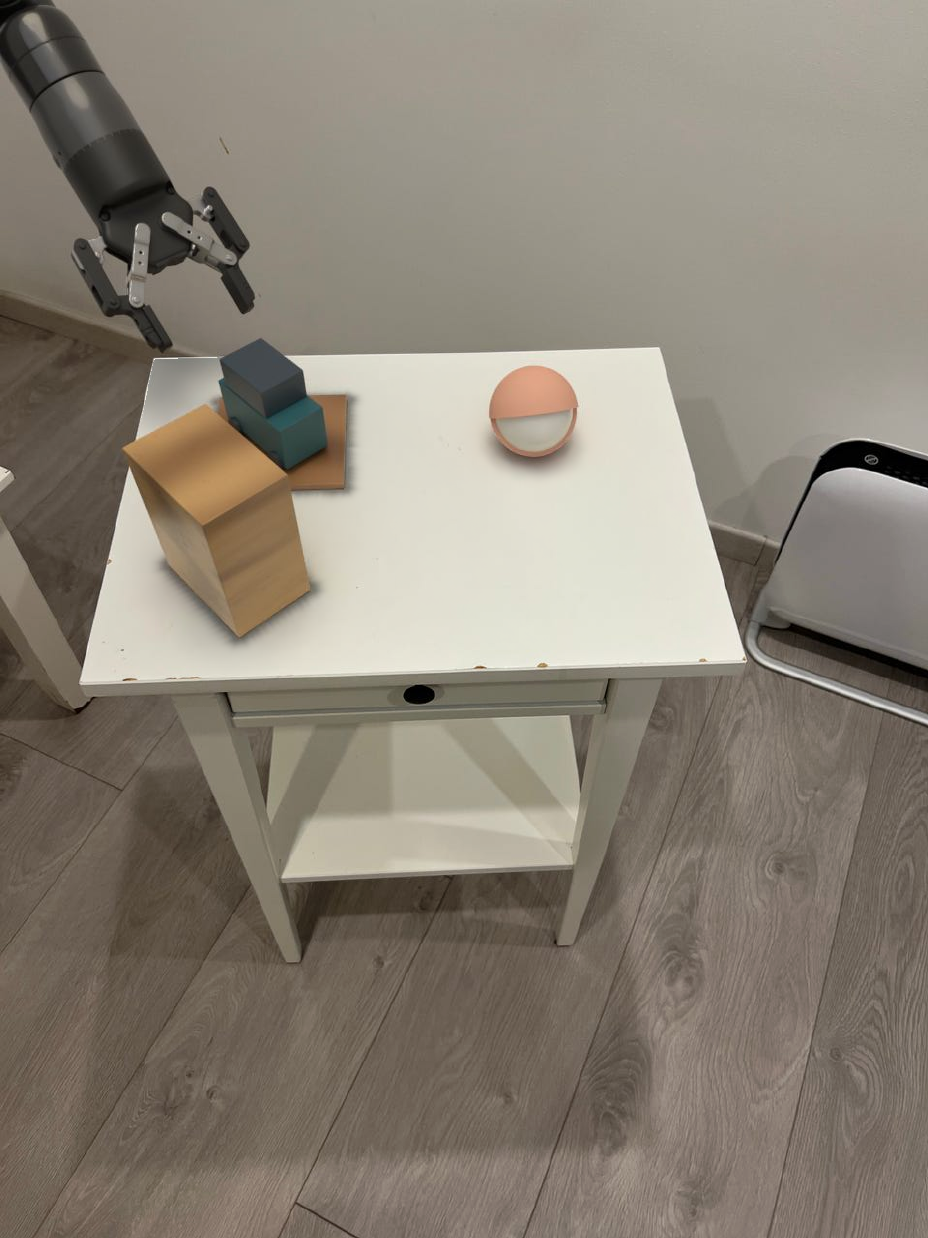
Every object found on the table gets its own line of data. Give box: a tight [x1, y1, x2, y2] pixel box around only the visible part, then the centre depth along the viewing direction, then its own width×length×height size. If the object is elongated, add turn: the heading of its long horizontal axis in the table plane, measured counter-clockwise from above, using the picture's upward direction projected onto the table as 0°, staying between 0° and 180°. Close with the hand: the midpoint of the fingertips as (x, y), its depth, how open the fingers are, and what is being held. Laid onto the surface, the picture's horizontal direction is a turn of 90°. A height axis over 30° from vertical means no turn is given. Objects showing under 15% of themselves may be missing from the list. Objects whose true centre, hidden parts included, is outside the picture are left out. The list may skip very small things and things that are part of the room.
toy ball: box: [488, 365, 579, 458], centre depth 78 cm, size 8×8×8 cm
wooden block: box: [122, 403, 311, 638], centre depth 66 cm, size 10×7×13 cm
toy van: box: [217, 337, 328, 469], centre depth 76 cm, size 9×5×8 cm, turn 44°
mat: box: [217, 394, 348, 491], centre depth 80 cm, size 12×12×1 cm
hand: (209, 329), depth 77 cm, fingers open, 8 cm apart
